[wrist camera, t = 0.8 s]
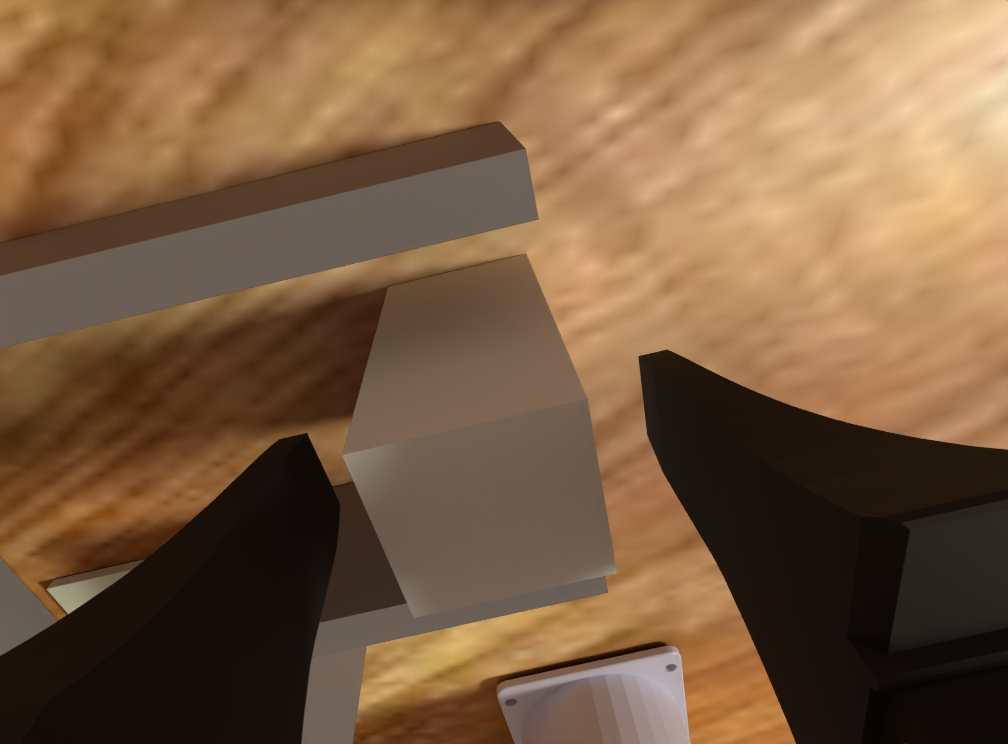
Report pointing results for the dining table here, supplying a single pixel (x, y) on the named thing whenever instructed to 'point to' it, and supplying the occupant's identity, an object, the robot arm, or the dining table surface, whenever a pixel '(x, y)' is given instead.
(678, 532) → the dining table surface
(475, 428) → the block
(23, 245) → the rails
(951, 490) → the robot arm
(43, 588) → the dining table surface
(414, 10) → the dining table surface
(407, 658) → the dining table surface
